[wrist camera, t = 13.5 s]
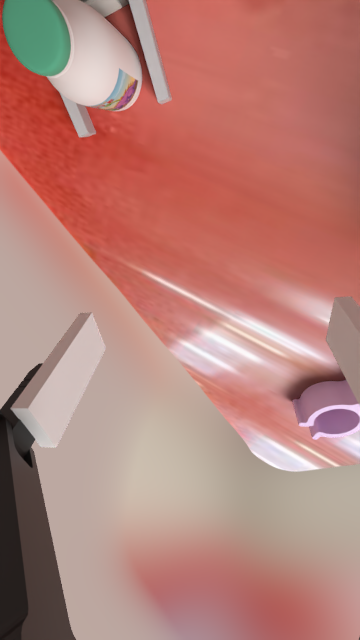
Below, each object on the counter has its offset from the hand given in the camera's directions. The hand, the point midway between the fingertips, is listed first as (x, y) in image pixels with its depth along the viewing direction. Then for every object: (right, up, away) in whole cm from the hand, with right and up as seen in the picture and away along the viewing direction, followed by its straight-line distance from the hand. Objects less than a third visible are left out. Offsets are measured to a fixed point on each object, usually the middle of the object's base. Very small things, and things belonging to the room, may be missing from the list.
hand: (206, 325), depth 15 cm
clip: (+37, -18, +51) cm, 66 cm away
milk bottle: (-10, +33, +21) cm, 40 cm away
